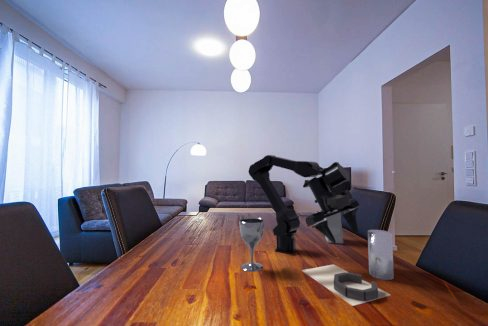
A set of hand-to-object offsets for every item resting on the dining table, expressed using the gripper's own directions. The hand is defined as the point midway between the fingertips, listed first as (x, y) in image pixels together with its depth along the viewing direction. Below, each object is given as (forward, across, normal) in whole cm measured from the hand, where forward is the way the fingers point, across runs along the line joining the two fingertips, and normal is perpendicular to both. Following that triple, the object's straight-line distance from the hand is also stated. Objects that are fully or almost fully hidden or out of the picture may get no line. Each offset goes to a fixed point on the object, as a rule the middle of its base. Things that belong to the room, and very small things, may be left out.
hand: (346, 237), depth 70 cm
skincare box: (+1, +13, +28) cm, 31 cm away
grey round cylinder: (+13, +2, -3) cm, 13 cm away
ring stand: (+10, -11, -4) cm, 15 cm away
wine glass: (-2, -29, +11) cm, 32 cm away
